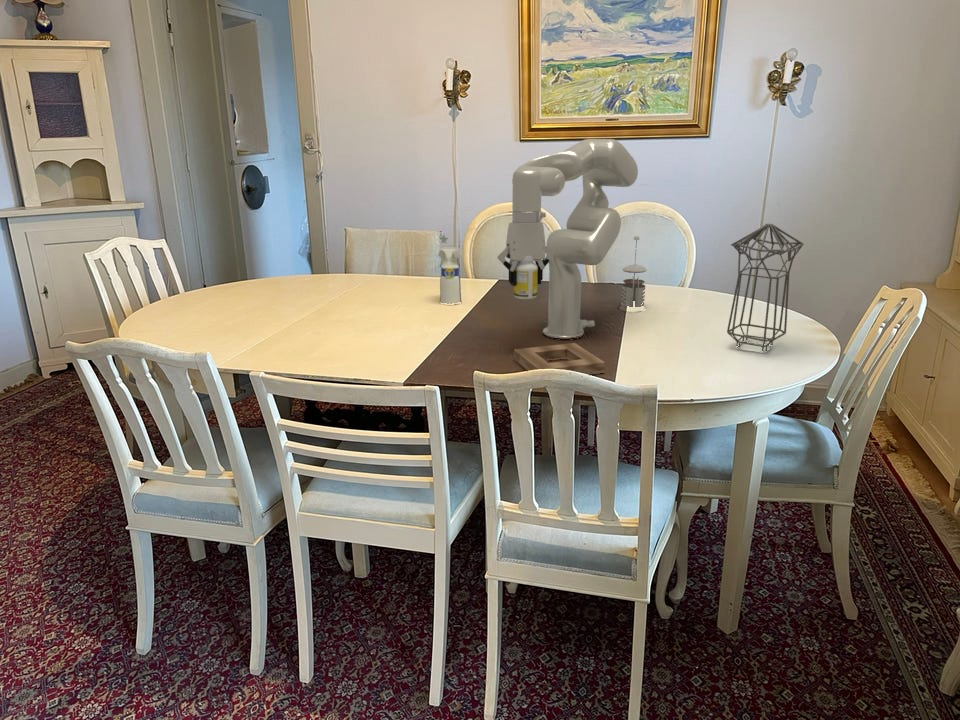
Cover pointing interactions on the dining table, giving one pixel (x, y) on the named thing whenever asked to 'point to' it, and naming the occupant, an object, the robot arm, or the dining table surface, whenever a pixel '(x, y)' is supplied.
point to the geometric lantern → (781, 242)
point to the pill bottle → (526, 279)
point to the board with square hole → (577, 354)
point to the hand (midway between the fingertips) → (525, 283)
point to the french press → (633, 285)
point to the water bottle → (450, 274)
